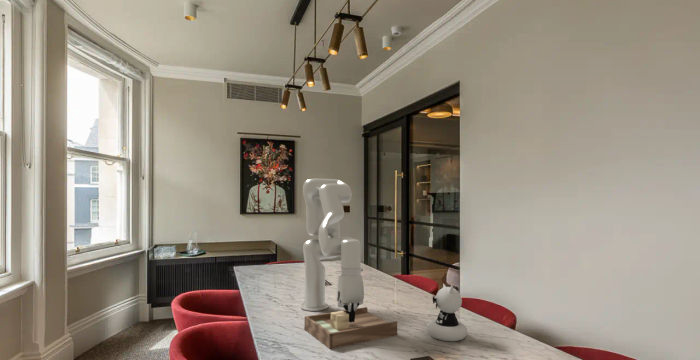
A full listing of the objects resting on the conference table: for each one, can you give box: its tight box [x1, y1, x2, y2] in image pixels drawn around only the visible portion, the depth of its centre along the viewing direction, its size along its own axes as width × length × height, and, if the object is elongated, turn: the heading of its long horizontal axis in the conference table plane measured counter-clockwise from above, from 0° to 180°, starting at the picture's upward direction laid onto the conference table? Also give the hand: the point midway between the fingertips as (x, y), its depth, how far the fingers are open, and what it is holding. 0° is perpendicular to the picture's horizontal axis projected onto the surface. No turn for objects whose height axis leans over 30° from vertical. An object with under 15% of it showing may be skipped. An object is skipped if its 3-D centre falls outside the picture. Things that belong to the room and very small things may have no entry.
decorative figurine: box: [426, 282, 468, 342], centre depth 144 cm, size 15×15×20 cm
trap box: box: [303, 306, 398, 350], centre depth 146 cm, size 22×28×5 cm
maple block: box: [330, 310, 349, 330], centre depth 143 cm, size 5×5×5 cm
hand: (350, 321), depth 146 cm, fingers closed
